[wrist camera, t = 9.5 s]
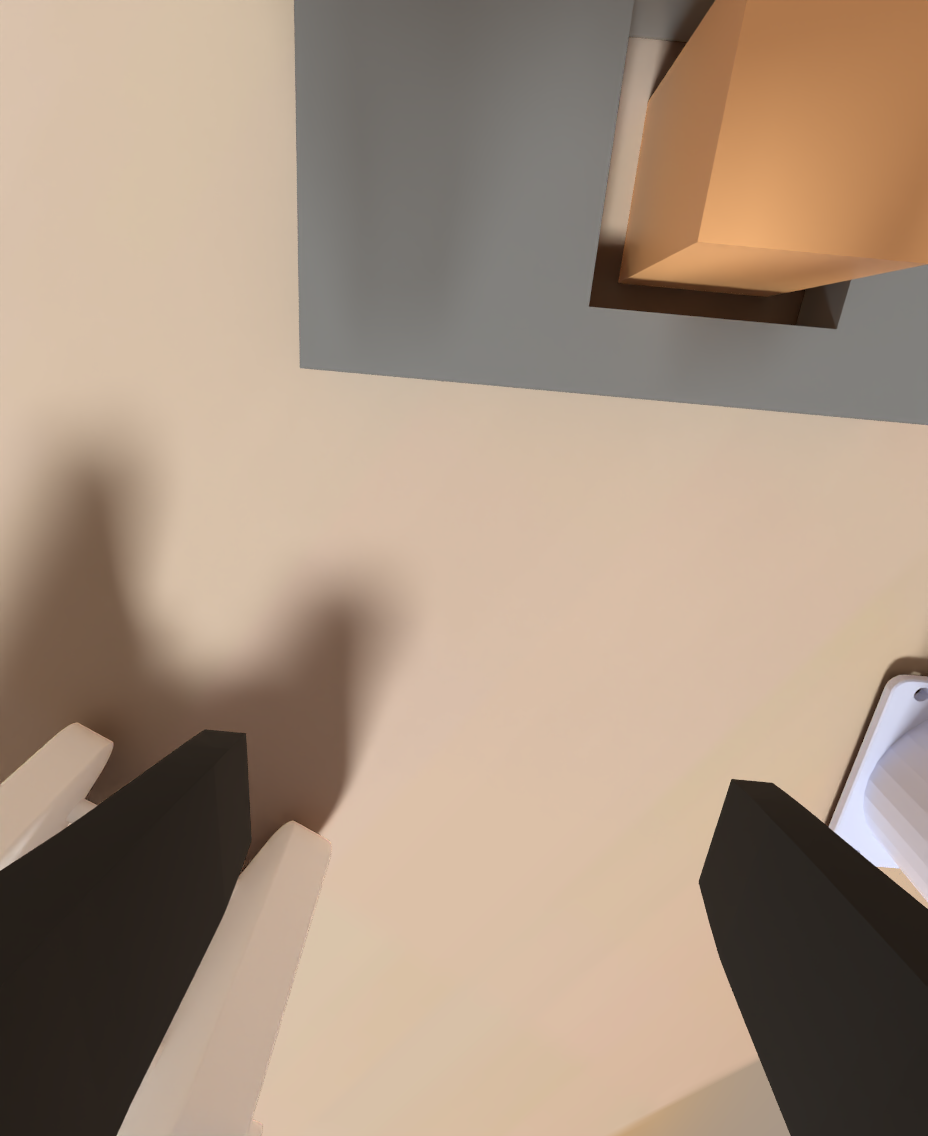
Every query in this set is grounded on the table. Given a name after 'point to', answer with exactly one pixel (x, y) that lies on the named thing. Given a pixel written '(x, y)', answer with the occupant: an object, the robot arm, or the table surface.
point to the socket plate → (533, 221)
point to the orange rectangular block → (785, 150)
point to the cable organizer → (228, 969)
